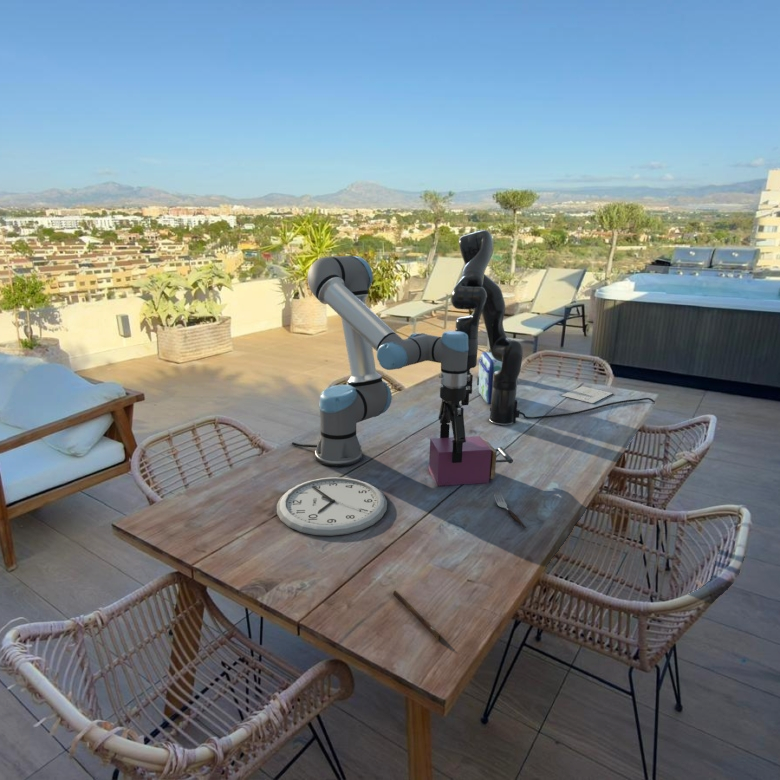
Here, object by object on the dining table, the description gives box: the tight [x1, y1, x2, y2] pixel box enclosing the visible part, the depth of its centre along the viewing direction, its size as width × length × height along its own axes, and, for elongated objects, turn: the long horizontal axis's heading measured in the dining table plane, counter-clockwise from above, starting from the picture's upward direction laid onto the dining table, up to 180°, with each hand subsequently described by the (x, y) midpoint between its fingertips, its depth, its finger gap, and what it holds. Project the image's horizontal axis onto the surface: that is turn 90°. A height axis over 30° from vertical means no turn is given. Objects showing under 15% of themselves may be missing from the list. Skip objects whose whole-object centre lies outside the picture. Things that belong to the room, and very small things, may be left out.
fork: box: [493, 492, 526, 529], centre depth 140 cm, size 3×16×2 cm, turn 15°
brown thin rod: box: [392, 590, 441, 641], centre depth 102 cm, size 15×1×1 cm, turn 34°
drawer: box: [483, 438, 514, 479], centre depth 160 cm, size 20×9×9 cm, turn 100°
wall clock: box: [276, 476, 388, 537], centre depth 142 cm, size 30×2×30 cm
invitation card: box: [560, 385, 613, 404], centre depth 242 cm, size 21×1×15 cm
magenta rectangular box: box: [428, 435, 492, 487], centre depth 159 cm, size 16×11×11 cm, turn 100°
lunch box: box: [476, 351, 502, 406], centre depth 230 cm, size 26×11×21 cm, turn 179°
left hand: (450, 452), depth 158 cm, fingers open, 13 cm apart
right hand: (461, 400), depth 167 cm, fingers open, 8 cm apart
